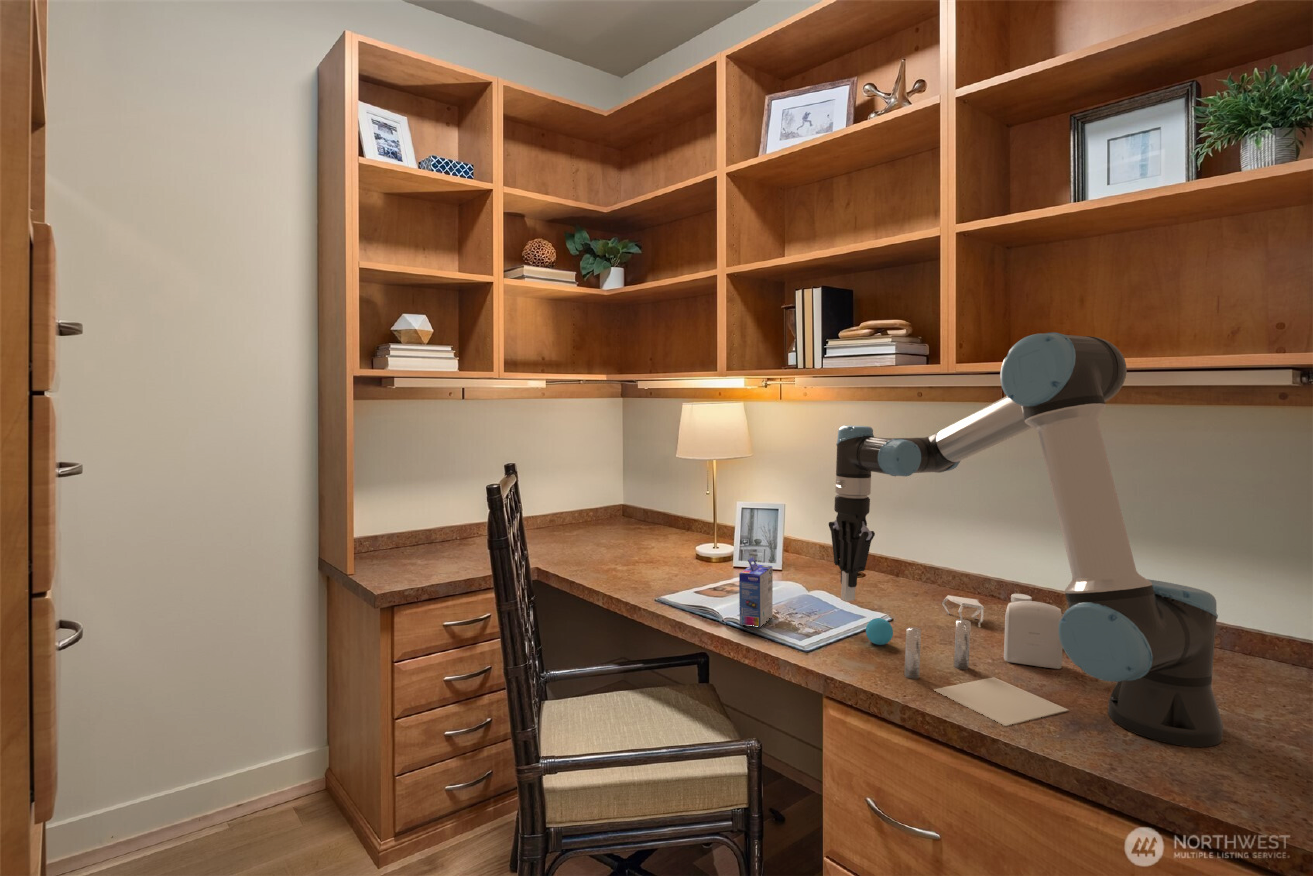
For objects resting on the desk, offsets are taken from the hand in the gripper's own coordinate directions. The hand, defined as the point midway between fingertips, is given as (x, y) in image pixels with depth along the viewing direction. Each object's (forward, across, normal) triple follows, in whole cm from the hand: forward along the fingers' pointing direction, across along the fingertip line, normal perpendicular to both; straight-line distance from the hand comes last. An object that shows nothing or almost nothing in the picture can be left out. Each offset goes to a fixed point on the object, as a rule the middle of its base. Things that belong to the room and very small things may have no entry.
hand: (847, 599), depth 161 cm
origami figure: (+7, +4, +31) cm, 32 cm away
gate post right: (+6, +26, +6) cm, 28 cm away
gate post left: (+6, +26, -6) cm, 28 cm away
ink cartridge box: (+7, -13, -16) cm, 22 cm away
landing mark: (+6, +40, 0) cm, 41 cm away
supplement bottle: (+7, +19, +31) cm, 37 cm away
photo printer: (+7, +30, +21) cm, 38 cm away
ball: (+4, +10, 0) cm, 11 cm away
